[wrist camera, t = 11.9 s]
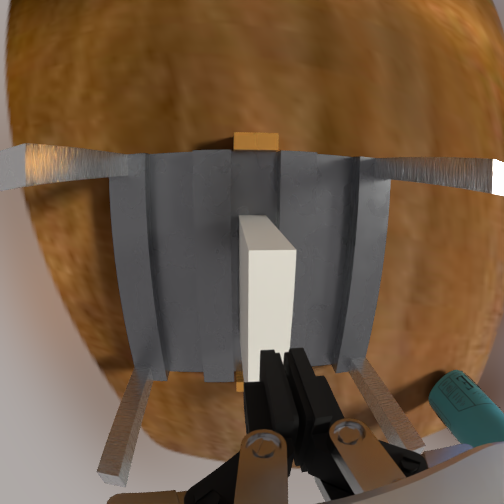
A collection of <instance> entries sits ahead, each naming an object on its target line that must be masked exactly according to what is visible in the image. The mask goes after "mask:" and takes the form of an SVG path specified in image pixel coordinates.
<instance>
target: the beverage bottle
mask: <svg viewBox="0 0 504 504" xmlns="http://www.w3.org/2000/svg"><path fill="white" fill-rule="evenodd" d="M467 376H468V375H467ZM467 376H466V375H465V374H464V373H463V372H462V371H459V370H453V371H451V372H449V373H447V374H446V375H444V376H443V377H442V378H441V379H440V380H439V381H438V382H437V383H436V384H435V386H434V387H433V388H432V390H431V392H430V394H429V404H430V405H431V407H432V408H433V409H434V410H435V412H436V413H435V414H437V415H439V416H438V417H439V418H440V419H441V421H442V420H443V421H442V422H443V423H444V424H446V426H447V427H448V428H449V429H450V431H451V432H452V433H453V435H454V436H455V437H456V438H457V440H458V441H459V442H460V443H461V444H464V443H465V444H469V445H471V446H472V447H474V448H475V447H477V446H480V445H484V444H488V443H493V442H504V413H503V412H502V411H501V410H500V409H499V408H498V407H497V406H496V404H494V403H493V402H492V401H491V400H490V399H489V398H488V397H487V396H486V395H485V394H484V393H483V392H482V390H480V389H479V388H480V387H479V386H478V385H477V384H476V383H475V382H474V381H473V380H472V379H471V378H470V377H469V376H468V377H469V378H470V379H471V380H472V381H473V382H474V383H475V384H476V385H475V384H474V383H473V382H472V381H471V380H470V379H469V378H468V377H467Z"/></svg>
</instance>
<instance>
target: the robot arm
mask: <svg viewBox="0 0 504 504" xmlns="http://www.w3.org/2000/svg"><path fill="white" fill-rule="evenodd" d="M244 412H245V423H246V433H247V435H246V436H245V437H244V438H243V440H242V443H241V448H240V451H239V452H238V453H237V454H236V455H234V456H233V457H232V458H231V459H229V460H228V461H227V462H225V463H224V464H223V465H221V466H220V467H219V468H218V469H216V470H215V471H214V472H212V473H211V474H209V475H208V476H207V477H205V478H204V479H202V480H201V481H200V482H198V483H197V484H195V485H194V486H192V487H191V488H190V489H189V490H188V491H182V492H176V491H175V490H171V491H161V492H146V493H121V494H116V495H114V496H112V497H110V499H109V500H108V501H107V504H288V477H289V476H290V471H291V467H292V462H293V458H294V462H295V465H296V466H300V467H301V471H302V472H307V471H308V473H309V474H310V475H312V476H315V482H316V484H317V486H318V488H319V490H320V492H321V494H322V496H323V498H324V500H325V502H323V503H318V504H504V442H493V443H488V444H484V445H480V446H477V447H475V448H474V447H472V446H471V445H469V444H465V443H464V444H457V445H453V446H449V447H444V448H440V449H435V450H430V451H424V452H423V454H419V453H416V452H414V451H411V450H407V449H404V448H401V447H398V446H395V445H392V444H389V443H386V442H383V441H380V440H378V439H377V438H376V437H375V436H374V434H373V433H372V432H371V430H370V429H369V428H368V426H367V425H366V424H365V423H363V422H362V421H360V420H357V419H353V418H345V419H344V416H343V414H342V412H341V410H340V408H339V406H338V403H337V401H336V399H335V397H334V395H333V393H332V391H331V388H330V386H329V384H328V382H327V380H326V378H325V377H324V376H315V374H314V371H313V369H312V367H311V364H310V362H309V360H308V357H307V355H306V353H305V350H304V348H303V347H302V348H290V349H289V352H285V353H284V361H283V362H282V359H281V355H280V353H275V350H274V349H273V350H261V351H260V374H259V381H257V382H244Z"/></svg>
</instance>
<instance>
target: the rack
mask: <svg viewBox="0 0 504 504" xmlns="http://www.w3.org/2000/svg"><path fill="white" fill-rule="evenodd" d="M275 151H278V133H251V132H234V137H233V151H231V150H193V152H180V153H162V154H147V153H141V154H129V155H127V154H120V153H113V152H105V151H98V150H90V149H81V148H73V147H63V146H52V145H41V144H27V143H25V144H22V145H18V146H14V147H11V148H8V149H5V150H1V151H0V191H3V190H9V189H14V188H21V187H27V186H34V185H41V184H49V183H57V182H65V181H74V180H84V179H94V178H106V177H109V191H110V210H111V225H112V236H113V246H114V255H115V264H116V271H117V279H118V286H119V292H120V298H121V304H122V310H123V315H124V321H125V326H126V331H127V335H128V340H129V345H130V349H131V353H132V358H133V362H134V366H135V367H134V370H133V372H132V375H131V377H130V380H129V382H128V385H127V387H126V390H125V392H124V395H123V398H122V400H121V403H120V406H119V409H118V411H117V414H116V416H115V419H114V422H113V425H112V428H111V431H110V433H109V436H108V439H107V442H106V445H105V448H104V451H103V454H102V457H101V460H100V463H99V466H98V469H97V473H98V474H99V476H100V477H101V478H102V480H103V481H104V482H105V483H107V484H112V485H117V486H122V487H126V484H127V480H128V475H129V471H130V467H131V462H132V458H133V454H134V450H135V446H136V442H137V438H138V434H139V430H140V427H141V423H142V419H143V415H144V412H145V408H146V405H147V401H148V397H149V394H150V390H151V387H152V384H153V380H156V381H167V380H168V376H169V372H170V371H181V372H204V380H205V382H234V371H236V389H237V392H244V377H243V367H242V357H241V346H240V336H239V215H266V216H267V217H268V218H269V220H270V221H271V222H272V223H273V224H274V225H275V226H276V227H277V228H278V230H279V231H280V232H281V233H282V234H283V235H284V236H285V237H286V239H287V240H288V241H289V242H290V243H291V244H292V245H293V246H294V248H295V249H296V268H295V285H294V300H293V314H292V327H291V339H290V348H302V347H303V348H304V350H305V353H306V355H307V357H308V360H309V362H310V364H311V366H320V365H328V364H331V365H332V367H333V369H334V371H335V373H341V372H349V373H350V375H351V377H352V379H353V380H354V382H355V384H356V385H357V387H358V389H359V391H360V392H361V394H362V396H363V398H364V399H365V401H366V403H367V405H368V406H369V408H370V410H371V412H372V413H373V415H374V417H375V419H376V420H377V422H378V424H379V426H380V428H381V429H382V431H383V433H384V435H385V436H386V438H387V440H388V442H389V444H392V445H395V446H398V447H401V448H404V449H407V450H411V451H414V452H416V453H419V454H421V452H422V450H423V449H424V447H425V446H426V445H425V444H424V442H423V440H422V439H421V437H420V436H419V434H418V433H417V431H416V430H415V428H414V427H413V425H412V424H411V422H410V421H409V419H408V418H407V416H406V415H405V413H404V412H403V410H402V409H401V407H400V406H399V405H398V403H397V402H396V400H395V399H394V397H393V396H392V394H391V393H390V391H389V390H388V388H387V387H386V386H385V384H384V383H383V381H382V380H381V378H380V377H379V376H378V374H377V373H376V371H375V370H374V368H373V367H372V366H371V364H370V363H369V361H368V360H367V358H366V357H365V356H366V352H367V348H368V344H369V339H370V335H371V330H372V325H373V321H374V316H375V310H376V305H377V299H378V294H379V288H380V281H381V275H382V268H383V261H384V253H385V245H386V235H387V225H388V214H389V200H390V181H391V179H392V180H401V181H411V182H419V183H427V184H435V185H442V186H449V187H455V188H462V189H468V190H474V191H480V192H485V193H491V194H496V195H501V196H504V163H502V162H500V161H497V160H494V159H480V158H454V157H399V158H369V157H346V156H335V155H322V154H317V153H316V152H301V151H278V152H275Z"/></svg>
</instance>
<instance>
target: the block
mask: <svg viewBox="0 0 504 504" xmlns="http://www.w3.org/2000/svg"><path fill="white" fill-rule="evenodd" d="M295 268H296V249H295V248H294V246H293V245H292V244H291V243H290V242H289V241H288V240H287V239H286V237H285V236H284V235H283V234H282V233H281V232H280V231H279V230H278V228H277V227H276V226H275V225H274V224H273V223H272V222H271V221H270V220H269V218H268V217H267V216H266V215H239V336H240V346H241V357H242V367H243V377H244V382H257V381H259V374H260V351H261V350H273V349H274V350H275V353H280V355H281V359H282V362H283V361H284V353H285V352H289V349H290V339H291V327H292V314H293V300H294V285H295Z"/></svg>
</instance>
